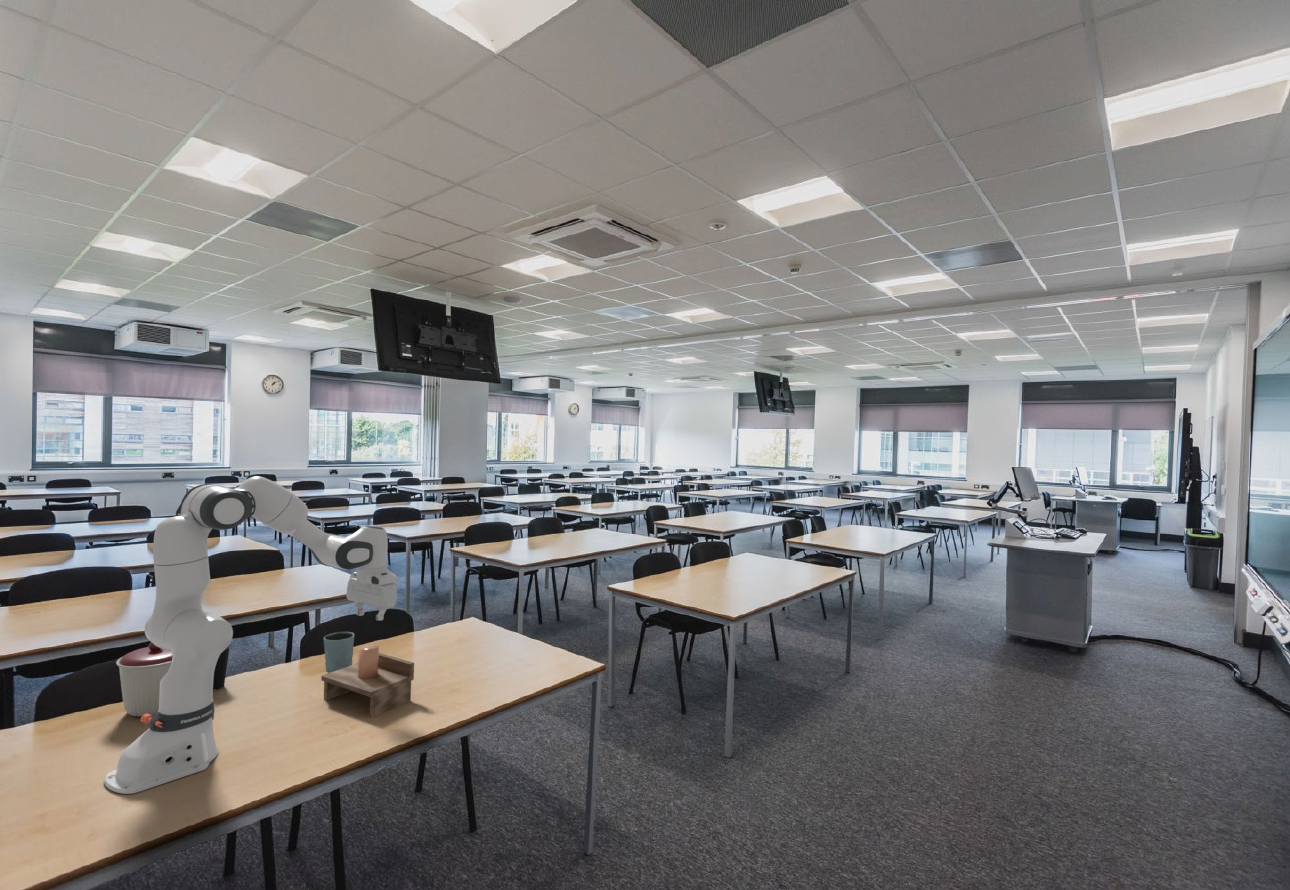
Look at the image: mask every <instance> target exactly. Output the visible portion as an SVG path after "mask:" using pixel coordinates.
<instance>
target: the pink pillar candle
mask: <svg viewBox="0 0 1290 890" xmlns="http://www.w3.org/2000/svg"><path fill="white" fill-rule="evenodd" d="M379 653H380V646H379V645H378V644H365V645H362V646H360V647H358V655H357V660H358V661H357V663H358V678H360V679H370V678H373V677H376V676H377V675H378V659H379Z"/></svg>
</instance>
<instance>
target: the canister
mask: <svg viewBox="0 0 1290 890" xmlns="http://www.w3.org/2000/svg"><path fill="white" fill-rule="evenodd" d="M171 662H172V652H171V651H169V650H165V649H162V648H159V647H157V646H156V645H154V644H153V643H152V642H151V641H150V643H149V644H148V646H146V647H142V648H138V649H135V650H133V651H131V652H128V653H126V654H125V655H123V656H121V657H119V658H118V659H117V660H116V661H115V663H116V666H118V668H119V669H118V670H119V678H120V687H121V688H120V689H121V697H122V702H123V708H124V710H125V712H126V714H128V715H129V716H132V717H136V716H137V717H139V718H141V717H143V715H144V714H150V715H152V716H154V715H155V714H156V712H157V711H158V709H159V693H160V681H161V679H162V677H163V676H164V675H165V674H166V673H168V671H169V668H170V665H171ZM140 716H141V717H140Z"/></svg>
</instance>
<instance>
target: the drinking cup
mask: <svg viewBox="0 0 1290 890" xmlns="http://www.w3.org/2000/svg"><path fill="white" fill-rule="evenodd" d="M230 648H231V643H230V644H229V645H228V647H227V648H226V649H225V650H224V651H223V652H222V653H221V654H220V656H219V658H218V660H217V663H216V666H215V670H214V677H213V691H217V690H220V689H223V688H224V687H225V682H226V676H227V669H228V668H227V667H228V661H229V653H230Z"/></svg>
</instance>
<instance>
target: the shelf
mask: <svg viewBox="0 0 1290 890" xmlns="http://www.w3.org/2000/svg"><path fill="white" fill-rule="evenodd" d="M414 677H415V662H413V661H409V660H405V659H403V658H398V657H395V656H391V655H388V654H385V653H381V652H379V659H378V675H377V676H376V677H373V678H370V679H360V678H358V662H357V663H354V664H352V665H351V666H348V667H345V668H342V669H340V670H337V671H334V672H327V673H326V674H323V675H321V679H320V681H322V682H323V683H324V684H323V700H324V701H329V700H332V699H333V698H336V697H338V696H342V695H344V694H347V693H349V692H355V693H357V694H360V695H364V696H366V697H370V702H369V703H370V704H369V705H370V709H369V717H372V718H375V717H376V716H379V715H382V714H383V713H386V712H388V711H390V710H392V709H395V708H397V707H399V706H401V705H404V704H405V703H408V702H410V701H411V697H412V694H411V693H412V681H414V680H415V679H414Z"/></svg>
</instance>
